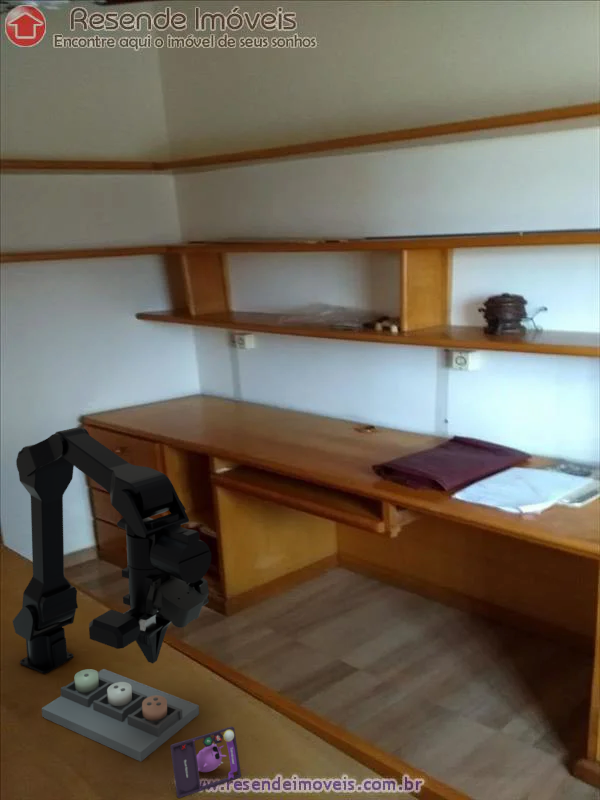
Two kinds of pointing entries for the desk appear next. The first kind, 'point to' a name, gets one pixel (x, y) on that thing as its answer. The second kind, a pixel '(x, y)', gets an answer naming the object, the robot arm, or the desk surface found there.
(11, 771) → the desk surface
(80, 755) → the desk surface
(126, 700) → the grey button
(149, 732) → the button board
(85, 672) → the sage button
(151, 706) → the terracotta button
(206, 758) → the game card
